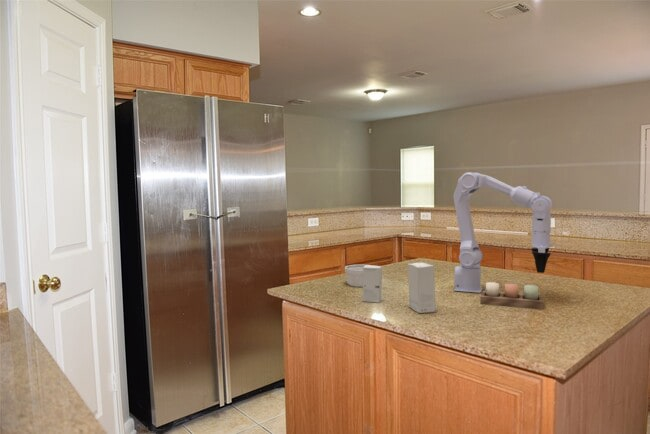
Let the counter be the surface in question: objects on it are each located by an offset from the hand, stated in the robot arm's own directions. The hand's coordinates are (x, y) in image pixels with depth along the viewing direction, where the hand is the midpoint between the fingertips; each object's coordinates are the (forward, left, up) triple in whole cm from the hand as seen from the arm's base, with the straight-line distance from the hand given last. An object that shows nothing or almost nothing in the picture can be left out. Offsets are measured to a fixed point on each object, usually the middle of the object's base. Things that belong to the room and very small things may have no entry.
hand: (540, 270), depth 158 cm
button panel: (-9, -9, -10) cm, 16 cm away
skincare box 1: (-53, -22, -10) cm, 59 cm away
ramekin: (-65, +1, -10) cm, 66 cm away
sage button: (-3, -9, -8) cm, 12 cm away
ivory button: (-15, -9, -8) cm, 19 cm away
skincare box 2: (-35, -27, -10) cm, 46 cm away
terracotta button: (-9, -9, -8) cm, 15 cm away
